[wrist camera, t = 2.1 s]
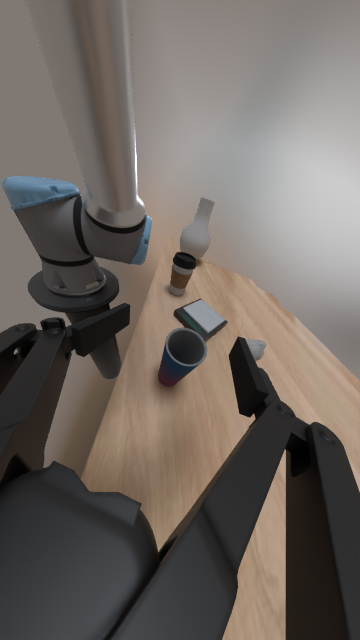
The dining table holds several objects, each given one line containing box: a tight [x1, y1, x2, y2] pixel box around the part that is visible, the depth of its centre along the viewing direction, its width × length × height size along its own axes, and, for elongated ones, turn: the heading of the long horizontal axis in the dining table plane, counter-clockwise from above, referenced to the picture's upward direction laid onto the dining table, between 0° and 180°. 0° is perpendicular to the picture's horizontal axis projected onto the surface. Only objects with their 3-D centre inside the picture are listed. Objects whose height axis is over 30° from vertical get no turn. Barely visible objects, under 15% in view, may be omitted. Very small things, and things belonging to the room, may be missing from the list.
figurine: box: [246, 339, 266, 361], centre depth 38 cm, size 6×7×8 cm
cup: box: [159, 328, 207, 387], centre depth 25 cm, size 7×7×15 cm
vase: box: [180, 198, 214, 259], centre depth 68 cm, size 17×16×28 cm
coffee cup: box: [169, 252, 196, 296], centre depth 49 cm, size 8×8×15 cm
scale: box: [173, 299, 228, 341], centre depth 45 cm, size 14×14×3 cm
